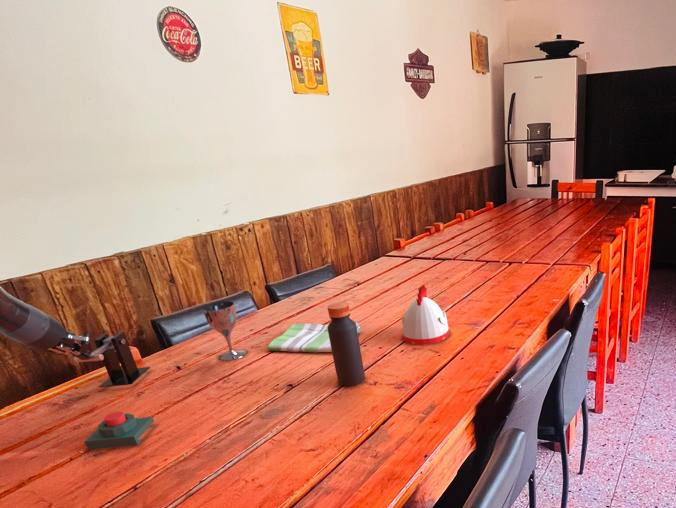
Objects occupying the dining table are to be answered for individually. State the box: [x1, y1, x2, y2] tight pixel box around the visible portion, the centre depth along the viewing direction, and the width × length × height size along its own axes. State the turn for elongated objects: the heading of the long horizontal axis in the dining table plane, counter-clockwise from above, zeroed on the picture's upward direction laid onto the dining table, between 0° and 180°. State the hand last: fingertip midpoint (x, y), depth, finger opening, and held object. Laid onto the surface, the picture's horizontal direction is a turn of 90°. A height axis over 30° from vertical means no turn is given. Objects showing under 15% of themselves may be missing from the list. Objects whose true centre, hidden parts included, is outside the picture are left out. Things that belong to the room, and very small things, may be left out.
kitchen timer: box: [401, 284, 450, 346], centre depth 150 cm, size 14×14×15 cm
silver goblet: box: [202, 300, 247, 361], centre depth 144 cm, size 8×8×15 cm
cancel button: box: [103, 411, 126, 427], centre depth 108 cm, size 4×4×2 cm
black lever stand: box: [93, 331, 150, 388], centre depth 133 cm, size 10×8×13 cm
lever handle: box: [73, 335, 115, 363], centre depth 127 cm, size 12×6×2 cm, turn 6°
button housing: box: [83, 413, 155, 451], centre depth 109 cm, size 10×8×4 cm
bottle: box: [327, 301, 366, 387], centre depth 124 cm, size 7×7×20 cm
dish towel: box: [266, 321, 362, 353], centre depth 153 cm, size 17×23×4 cm
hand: (87, 356), depth 122 cm, fingers closed
